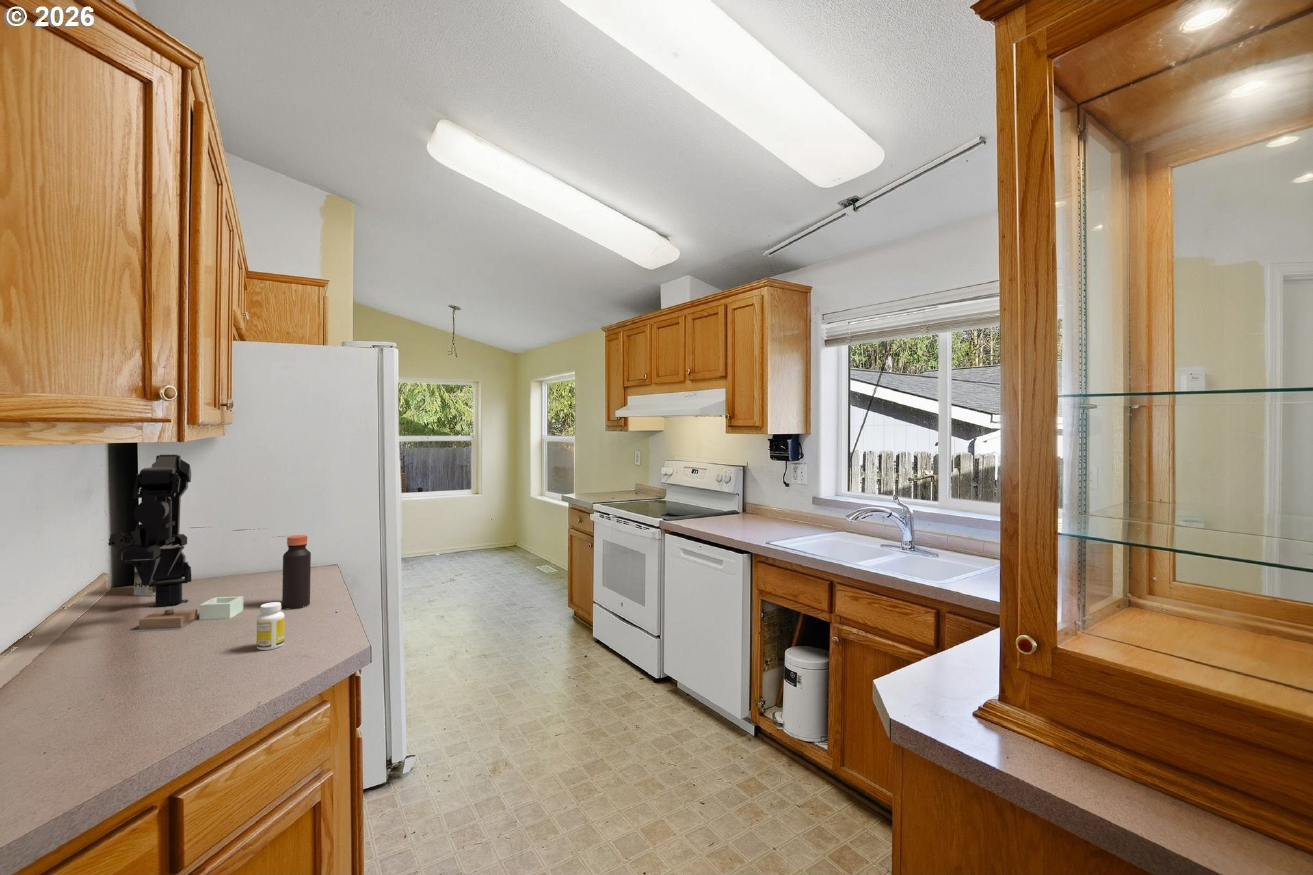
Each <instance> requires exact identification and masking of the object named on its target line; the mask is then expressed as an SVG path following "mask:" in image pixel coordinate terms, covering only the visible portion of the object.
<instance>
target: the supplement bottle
mask: <svg viewBox="0 0 1313 875" xmlns="http://www.w3.org/2000/svg"><path fill="white" fill-rule="evenodd" d="M281 610H282V603H281V602H279V601H277V602H276V601H275V602H274V601H273V602H267V603H263V604H261V605H260V613H261V614H259V615H258V616H257V618H256V649H257V650H260V651H268V650H274V649H278V648H281V647H283V645H284V644H285V629H286V628H285V626H286V625H285V616H286V615H285V613H284V612H283V611H281Z"/></svg>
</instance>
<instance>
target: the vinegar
mask: <svg viewBox="0 0 1313 875" xmlns="http://www.w3.org/2000/svg"><path fill="white" fill-rule="evenodd" d="M286 545H287V546H286V547H287V548H288V549H287V551H285V553H284V554H283V555H282V589H281V590H282V592H281V594H282V595H281V597H282V598H281V600H282V601H281V602H282V603H281V608H283V609H285V608H297V609H302V608H304V607H303V606H306V607H308V606H309V605H310V604H311V568H312V567H311V563H312V562H311V561H312V560H311V559H312V558H311V557H312V554H311V551H309V549H307V546H308V535H306V534H305V535H304V534H302V535H301V534H298V535H297V534H295V535H290V536H287V538H286ZM307 605H308V606H307ZM301 607H302V608H301Z"/></svg>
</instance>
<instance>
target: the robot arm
mask: <svg viewBox="0 0 1313 875" xmlns="http://www.w3.org/2000/svg"><path fill="white" fill-rule="evenodd" d="M134 481H135V482H134V488H133V495H132V498H133V499H141V500H140V503H139V504H137V505H136V506H135V508H134V509H133V517H134V519H135V520H136V521H137V522H138V524H137V525H136V526H135V530H133V531H131V532H130V531H129V532H128V533H124V532H123V531H121V530H120V531H118V532H114V533H112V534H110V535H109V538H108V541H109V542H108V543H107V545H108V546H110V547H113V548H114V551H119V550H121V549H123V548H124V549H123V550H122V551H121V553H120V560H121V561H124V562H125V563H126V564H130V565H132V566H133V567H134V569H135V568H136V570H137V572H138V574H139V577H140V579H141V581H142V584H143V586H148V585H149V587H153V586H156V593H155V596H154V597H155V602H154V603H155V604H154V603H153V604H152V605H149V608H166V607H167V608H169V607H176V606H179V605H181V604H185V603H187V602H189V599H183V584H188V583H192V567H191V565H189V562H188V561H186V558H187V557H186V555H185V554H184V552H183V550H184V549H185V546H186V545H188V536H186V535H185V534H184V533H180V530H181V529H180V528H181V527H180V524H181V523H180V522H181V520H180V519H181V502H182V501H181V497H182V496H183V495H184V494H185V492H186V491H187V490H188V488H189V483H191V482H192V470H191V465H190V464H189V463H188V462H186V461H185V460H183V459H182V457H181V455H178V454H159V455H156V457H155V462H153V463H152V464H151V467H144V468H142V469H140V471H139V473H137V474H136V476H135V480H134ZM179 545H180V546H179Z"/></svg>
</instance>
